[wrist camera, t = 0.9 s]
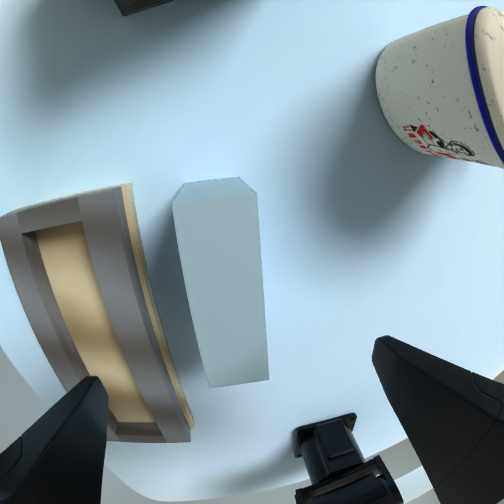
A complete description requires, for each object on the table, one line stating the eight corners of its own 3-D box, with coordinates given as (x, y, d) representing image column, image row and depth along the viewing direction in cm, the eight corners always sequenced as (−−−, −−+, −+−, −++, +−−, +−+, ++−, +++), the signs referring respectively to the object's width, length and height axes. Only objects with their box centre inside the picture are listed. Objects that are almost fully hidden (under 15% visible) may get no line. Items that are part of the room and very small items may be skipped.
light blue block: (251, 315, 19) (268, 379, 13) (206, 321, 18) (208, 387, 13) (238, 176, 16) (256, 193, 10) (184, 183, 15) (171, 203, 10)
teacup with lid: (375, 156, 16) (540, 192, 5) (360, 25, 13) (493, -41, 2) (482, 162, 17) (592, 195, 7) (473, 62, 14) (580, 58, 3)
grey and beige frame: (193, 419, 22) (193, 441, 19) (103, 420, 21) (98, 439, 19) (131, 182, 15) (118, 189, 12) (13, 210, 14) (-8, 220, 11)
